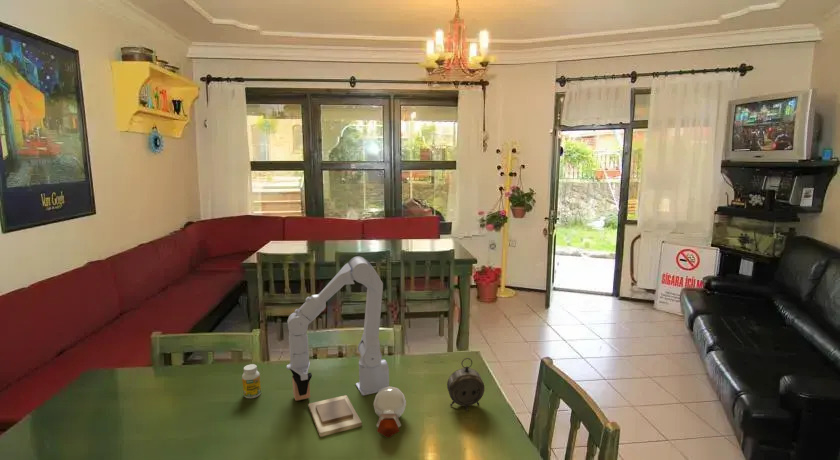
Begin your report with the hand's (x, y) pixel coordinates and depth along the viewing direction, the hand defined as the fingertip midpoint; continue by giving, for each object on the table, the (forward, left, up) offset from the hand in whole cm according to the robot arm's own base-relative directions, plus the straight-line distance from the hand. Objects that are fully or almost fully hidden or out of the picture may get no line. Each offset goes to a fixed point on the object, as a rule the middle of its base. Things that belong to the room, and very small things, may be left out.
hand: (301, 390), depth 147 cm
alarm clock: (-45, +26, -3) cm, 52 cm away
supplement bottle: (+14, -9, -3) cm, 17 cm away
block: (0, 0, -2) cm, 2 cm away
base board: (-7, +14, -3) cm, 16 cm away
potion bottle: (-21, +24, -3) cm, 32 cm away
